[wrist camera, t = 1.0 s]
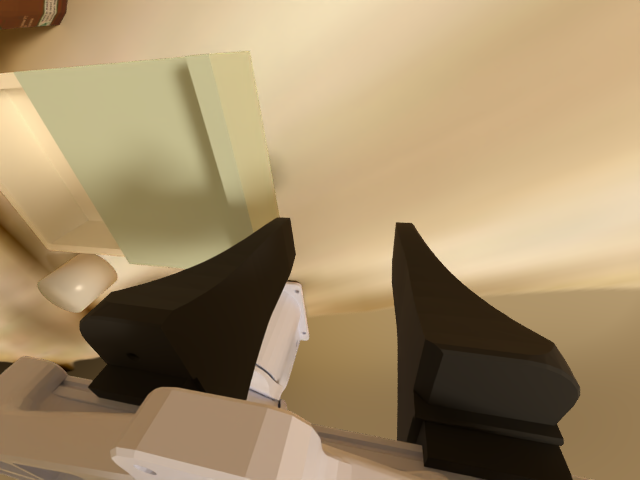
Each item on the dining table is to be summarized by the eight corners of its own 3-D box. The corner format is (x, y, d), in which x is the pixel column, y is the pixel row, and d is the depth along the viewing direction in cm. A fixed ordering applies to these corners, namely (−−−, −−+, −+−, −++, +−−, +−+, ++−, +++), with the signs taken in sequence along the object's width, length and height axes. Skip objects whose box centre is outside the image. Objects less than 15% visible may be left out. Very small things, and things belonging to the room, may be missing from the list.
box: (207, 228, 27) (176, 260, 23) (93, 222, 30) (48, 250, 26) (146, 60, 19) (83, 65, 15) (-2, 74, 22) (-87, 81, 18)
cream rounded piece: (124, 284, 36) (91, 314, 32) (92, 281, 37) (56, 310, 33) (104, 253, 33) (64, 282, 29) (69, 250, 34) (27, 278, 30)
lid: (289, 270, 21) (272, 308, 18) (136, 257, 24) (100, 289, 21) (249, 51, 13) (208, 53, 10) (27, 70, 16) (-56, 77, 13)
